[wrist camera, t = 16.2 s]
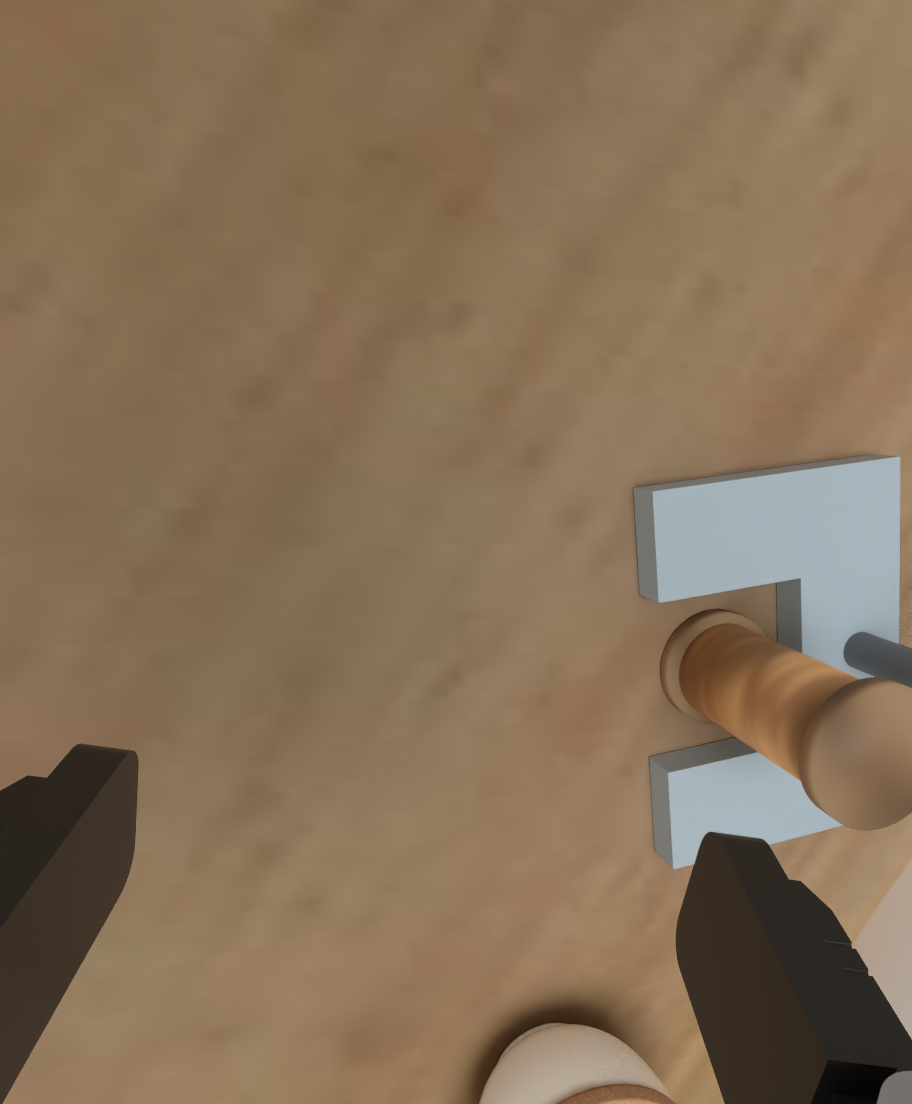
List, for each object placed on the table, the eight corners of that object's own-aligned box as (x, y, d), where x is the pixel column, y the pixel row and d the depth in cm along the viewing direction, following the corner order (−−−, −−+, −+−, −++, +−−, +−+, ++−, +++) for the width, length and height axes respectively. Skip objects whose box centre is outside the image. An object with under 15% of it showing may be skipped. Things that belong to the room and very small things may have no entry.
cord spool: (702, 588, 41) (876, 657, 30) (780, 644, 43) (971, 729, 32) (639, 684, 41) (787, 790, 30) (719, 735, 43) (887, 854, 32)
